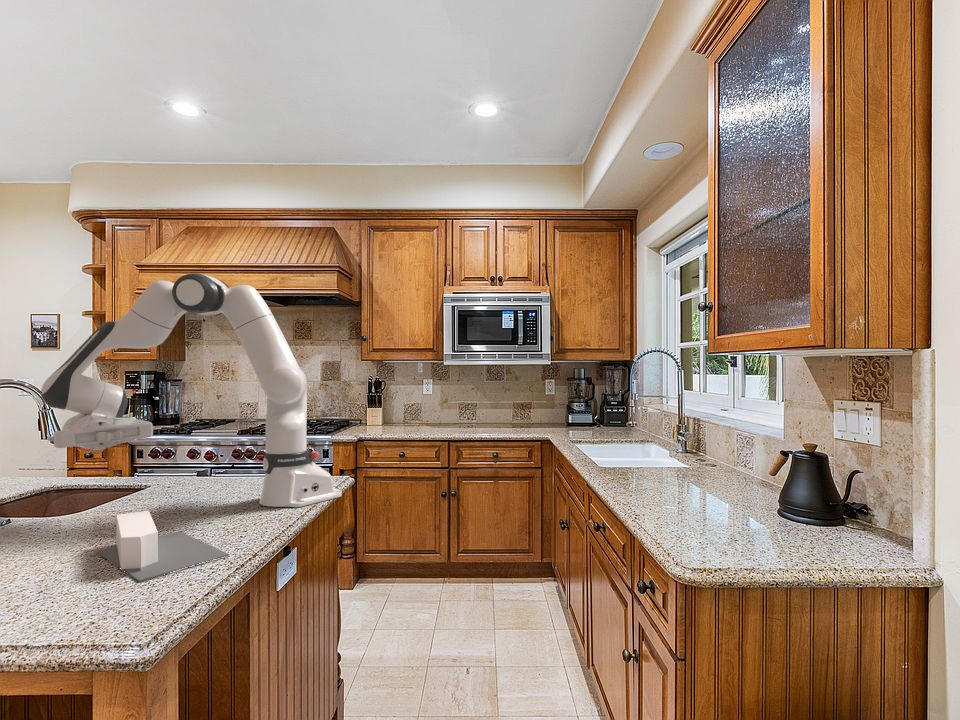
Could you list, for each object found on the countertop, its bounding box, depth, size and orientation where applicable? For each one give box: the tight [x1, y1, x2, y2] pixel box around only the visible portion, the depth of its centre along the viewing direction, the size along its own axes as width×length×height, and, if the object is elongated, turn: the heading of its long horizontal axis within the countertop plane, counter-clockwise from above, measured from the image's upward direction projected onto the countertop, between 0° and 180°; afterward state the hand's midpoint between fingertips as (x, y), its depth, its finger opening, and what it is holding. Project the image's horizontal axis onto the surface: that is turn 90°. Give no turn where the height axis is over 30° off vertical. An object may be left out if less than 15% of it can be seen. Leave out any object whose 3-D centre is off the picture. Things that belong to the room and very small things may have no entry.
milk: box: [115, 510, 159, 570], centre depth 105 cm, size 6×6×22 cm
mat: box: [96, 531, 230, 583], centre depth 106 cm, size 24×16×1 cm, turn 52°
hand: (115, 436), depth 124 cm, fingers closed
